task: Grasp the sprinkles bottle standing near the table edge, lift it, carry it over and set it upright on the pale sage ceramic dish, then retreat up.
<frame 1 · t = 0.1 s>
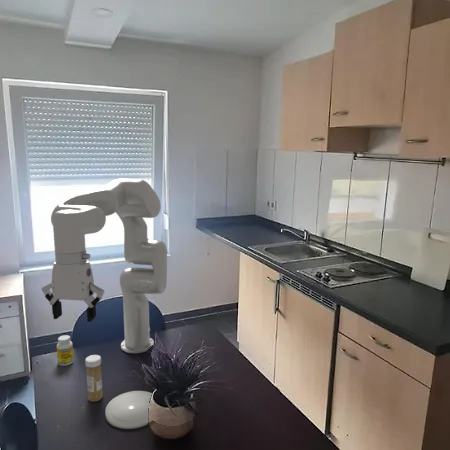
hand: (74, 318, 110), 31 cm above the table, fingers open, 9 cm apart
sprinkles bottle: (95, 398, 127), on the table
dish: (133, 410, 121), on the table
supplement bottle: (65, 362, 147), on the table
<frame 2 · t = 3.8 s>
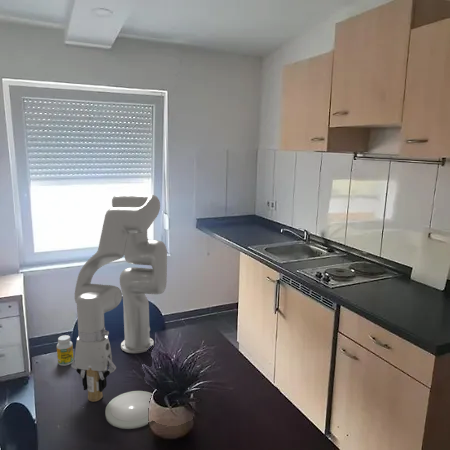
hand: (94, 387, 126), 3 cm above the table, fingers closed on sprinkles bottle, 4 cm apart
sprinkles bottle: (95, 398, 127), on the table, touching gripper
everything else where it was.
when the fingers open (6 cm above the table, at t = 10.0 s): sprinkles bottle stays where it is, resting on dish.
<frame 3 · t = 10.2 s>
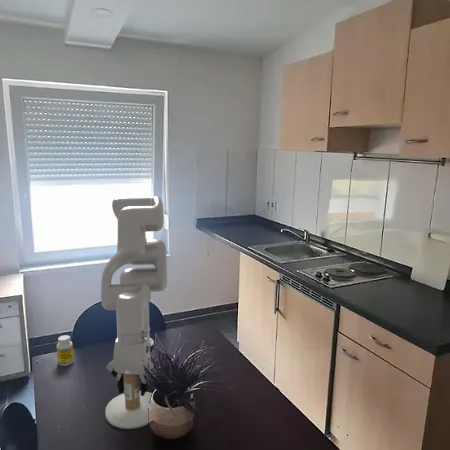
hand: (133, 391, 120), 6 cm above the table, fingers open, 6 cm apart
sprinkles bottle: (132, 406, 121), point 1 cm above the table, touching dish
everything else where it was.
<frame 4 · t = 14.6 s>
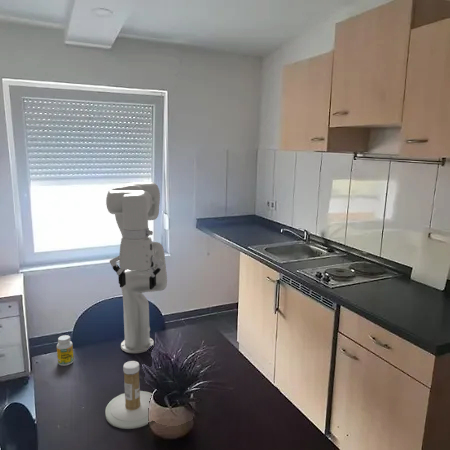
hand: (137, 286, 128), 33 cm above the table, fingers open, 9 cm apart
nothing on the table moved.
at the end: sprinkles bottle inside the target area on the dish (0.3 cm from its centre), point 1.2 cm above the dish's base; sprinkles bottle tilted 0°; the gripper is holding nothing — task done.
